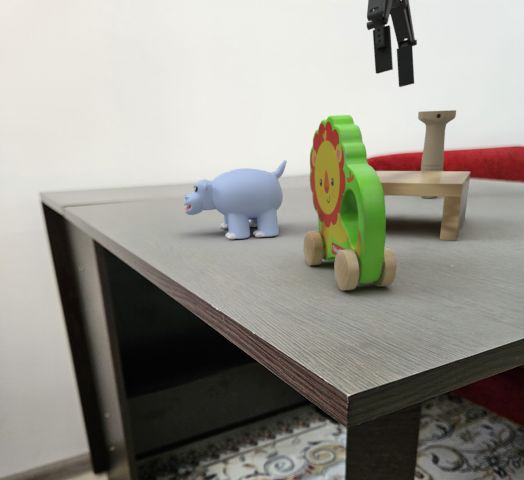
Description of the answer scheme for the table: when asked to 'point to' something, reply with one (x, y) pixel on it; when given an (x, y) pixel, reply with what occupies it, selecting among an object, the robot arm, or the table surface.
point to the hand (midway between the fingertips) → (396, 78)
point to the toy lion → (347, 208)
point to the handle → (434, 139)
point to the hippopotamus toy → (241, 200)
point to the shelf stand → (433, 193)
